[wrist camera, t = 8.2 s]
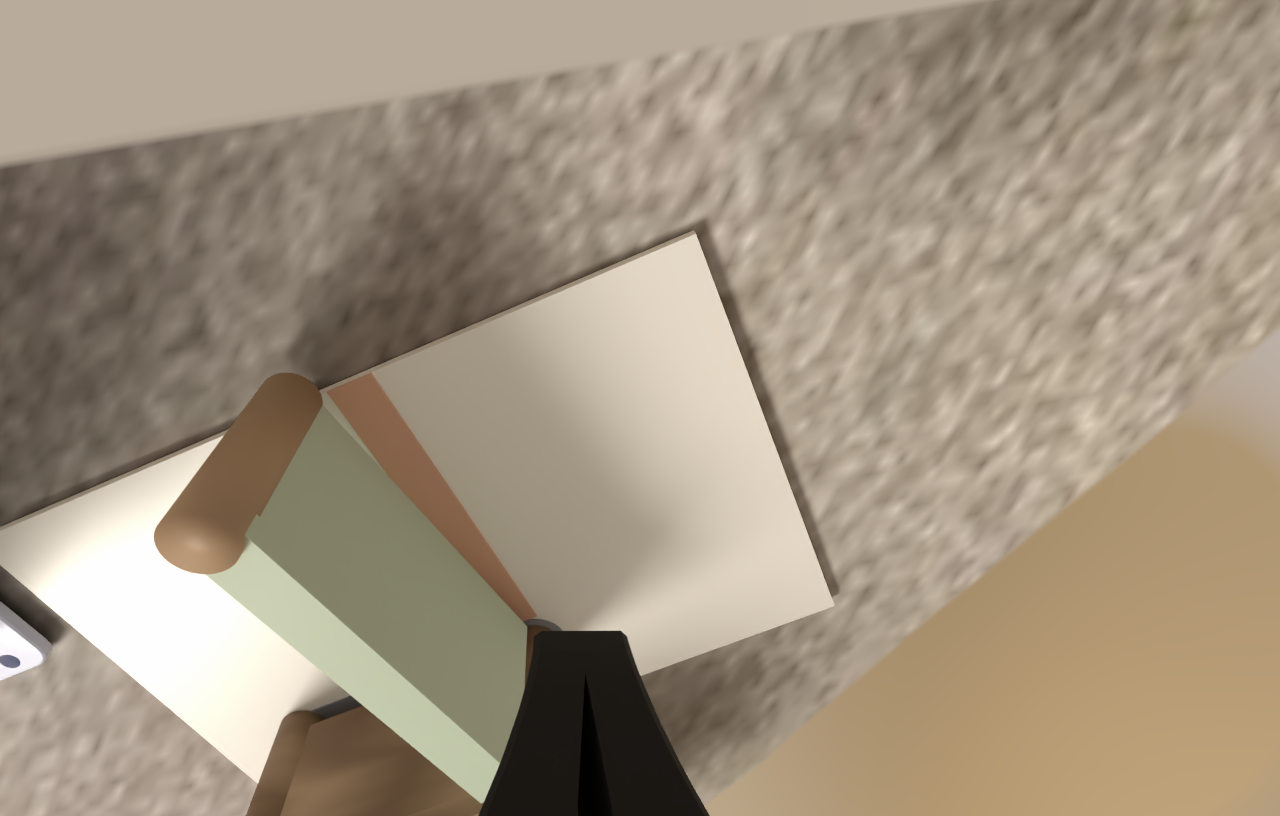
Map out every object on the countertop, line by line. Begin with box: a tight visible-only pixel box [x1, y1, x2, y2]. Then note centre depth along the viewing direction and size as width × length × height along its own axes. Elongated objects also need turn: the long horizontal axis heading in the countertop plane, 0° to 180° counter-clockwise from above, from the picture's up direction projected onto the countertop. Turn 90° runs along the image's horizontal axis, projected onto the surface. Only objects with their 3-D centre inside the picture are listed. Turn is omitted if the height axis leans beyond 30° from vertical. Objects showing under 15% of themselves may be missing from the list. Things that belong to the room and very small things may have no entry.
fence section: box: [246, 625, 553, 816], centre depth 21 cm, size 10×2×6 cm, turn 112°
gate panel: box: [154, 373, 527, 803], centre depth 17 cm, size 10×1×5 cm, turn 29°
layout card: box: [0, 230, 835, 783], centre depth 21 cm, size 20×13×1 cm, turn 112°
